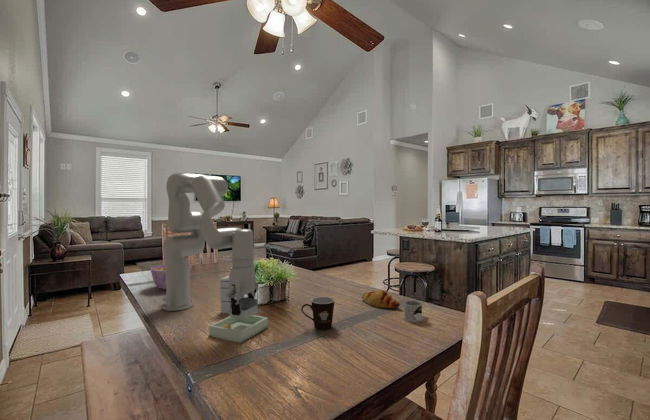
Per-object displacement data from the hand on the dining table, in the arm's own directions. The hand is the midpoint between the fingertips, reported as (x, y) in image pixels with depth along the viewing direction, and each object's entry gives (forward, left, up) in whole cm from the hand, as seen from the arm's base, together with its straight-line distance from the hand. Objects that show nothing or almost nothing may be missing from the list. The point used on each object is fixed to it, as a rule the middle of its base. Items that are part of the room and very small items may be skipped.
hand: (243, 310), depth 116 cm
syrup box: (-18, +13, -7) cm, 23 cm away
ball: (-1, -6, -5) cm, 8 cm away
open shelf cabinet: (0, 0, -1) cm, 1 cm away
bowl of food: (-72, +28, -7) cm, 77 cm away
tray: (0, -2, -7) cm, 7 cm away
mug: (+55, +37, -7) cm, 67 cm away
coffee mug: (+24, +14, -7) cm, 29 cm away
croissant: (+38, +48, -7) cm, 62 cm away
